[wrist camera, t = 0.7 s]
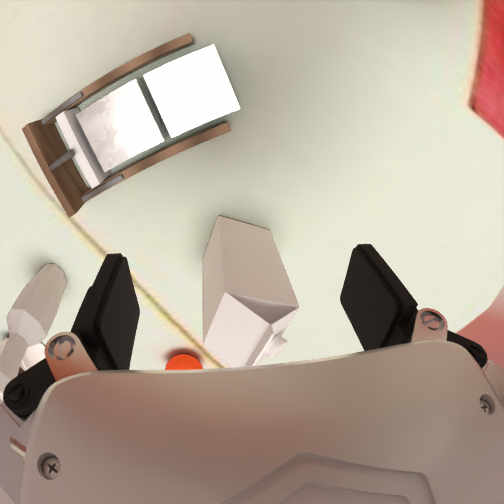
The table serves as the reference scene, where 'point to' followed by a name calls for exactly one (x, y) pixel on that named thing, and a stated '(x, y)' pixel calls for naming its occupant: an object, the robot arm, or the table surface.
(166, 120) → the tin
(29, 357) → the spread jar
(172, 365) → the clementine
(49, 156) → the lane
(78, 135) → the pusher
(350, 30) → the table surface
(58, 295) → the faceted bottle
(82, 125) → the white square block
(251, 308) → the milk carton
